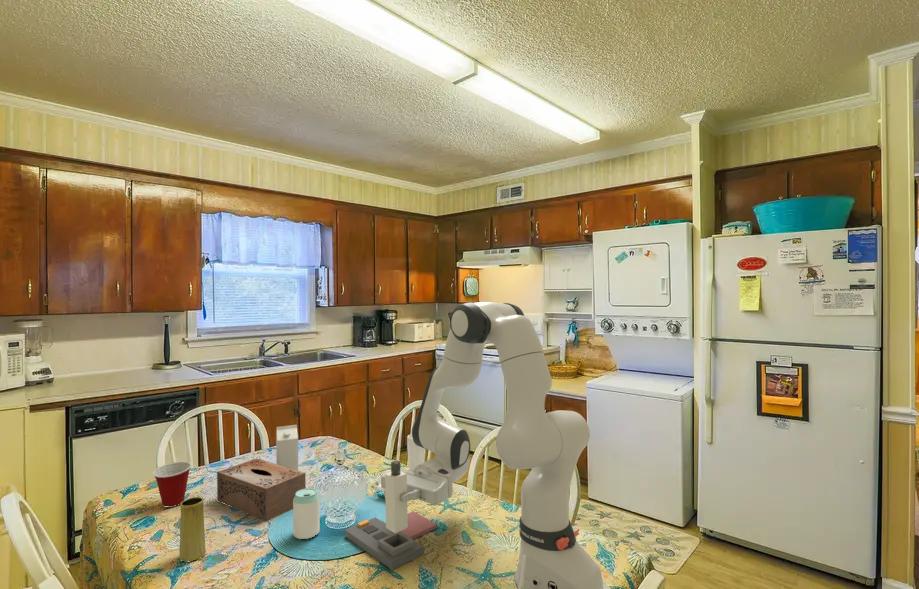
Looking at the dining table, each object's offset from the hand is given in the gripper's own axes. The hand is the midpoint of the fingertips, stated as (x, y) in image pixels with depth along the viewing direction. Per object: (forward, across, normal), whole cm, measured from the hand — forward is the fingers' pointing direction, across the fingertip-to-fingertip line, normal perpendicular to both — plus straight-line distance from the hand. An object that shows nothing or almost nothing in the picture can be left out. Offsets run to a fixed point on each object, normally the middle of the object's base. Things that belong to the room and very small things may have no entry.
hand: (393, 496), depth 120 cm
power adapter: (-24, -26, +15) cm, 38 cm away
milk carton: (-15, -69, +15) cm, 72 cm away
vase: (+30, -43, +15) cm, 55 cm away
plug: (-1, 0, +8) cm, 9 cm away
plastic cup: (+19, -80, +15) cm, 84 cm away
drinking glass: (-43, -30, +15) cm, 54 cm away
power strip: (-2, -6, +15) cm, 17 cm away
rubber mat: (-13, -6, +15) cm, 21 cm away
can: (+6, -28, +15) cm, 33 cm away
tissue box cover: (+2, -58, +15) cm, 60 cm away
